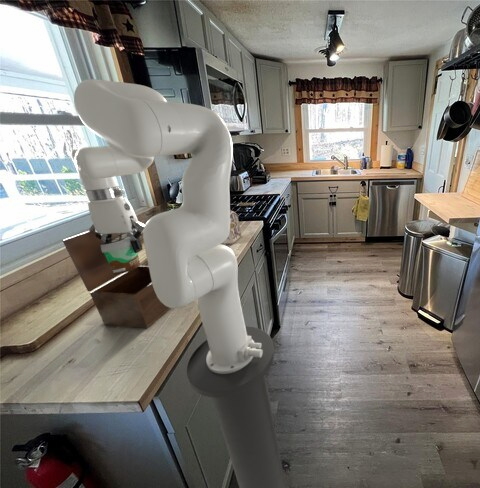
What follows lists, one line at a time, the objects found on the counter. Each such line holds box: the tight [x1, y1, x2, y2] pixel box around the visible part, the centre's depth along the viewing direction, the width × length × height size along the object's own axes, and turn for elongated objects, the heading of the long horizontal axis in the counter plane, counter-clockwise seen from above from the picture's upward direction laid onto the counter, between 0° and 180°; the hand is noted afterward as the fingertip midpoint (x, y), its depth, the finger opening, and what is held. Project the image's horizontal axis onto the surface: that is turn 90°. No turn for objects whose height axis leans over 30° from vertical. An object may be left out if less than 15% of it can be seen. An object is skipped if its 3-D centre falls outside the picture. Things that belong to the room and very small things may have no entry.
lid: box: [61, 230, 121, 292], centre depth 81 cm, size 16×18×1 cm
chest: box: [89, 264, 171, 329], centre depth 86 cm, size 16×18×12 cm
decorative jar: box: [221, 209, 242, 245], centre depth 141 cm, size 12×12×18 cm
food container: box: [100, 233, 141, 276], centre depth 80 cm, size 12×6×10 cm, turn 16°
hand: (126, 251), depth 79 cm, fingers closed on food container, 6 cm apart
